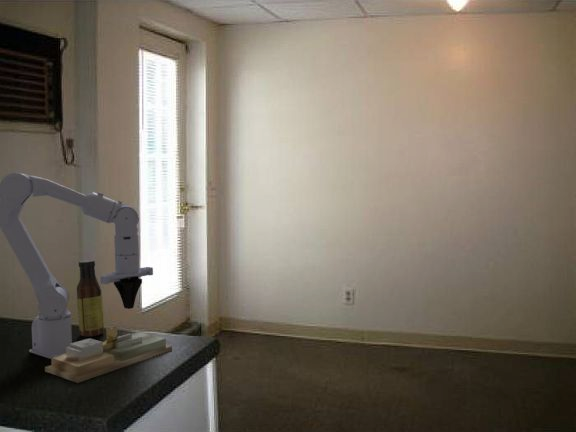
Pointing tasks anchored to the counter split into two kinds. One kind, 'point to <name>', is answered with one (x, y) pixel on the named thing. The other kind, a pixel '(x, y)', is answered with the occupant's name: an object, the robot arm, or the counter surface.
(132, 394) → the counter surface
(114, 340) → the bolt
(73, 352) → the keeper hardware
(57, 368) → the door and jamb
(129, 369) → the counter surface
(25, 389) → the counter surface
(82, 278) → the sauce bottle
